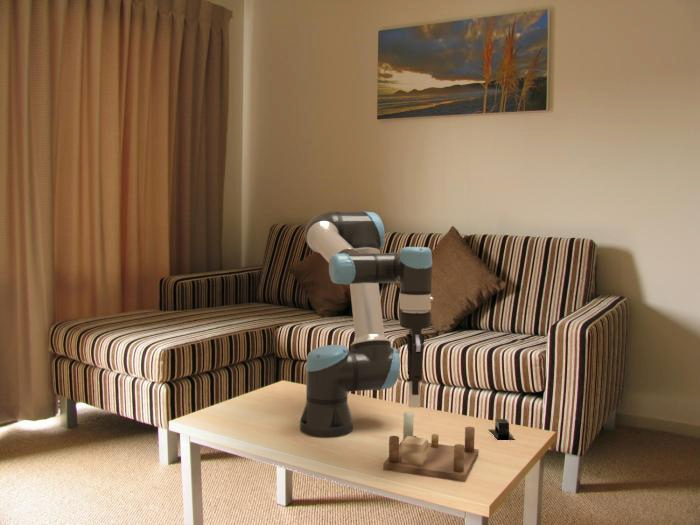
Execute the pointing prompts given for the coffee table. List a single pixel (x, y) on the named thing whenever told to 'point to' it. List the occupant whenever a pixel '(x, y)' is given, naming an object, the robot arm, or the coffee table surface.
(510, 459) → the coffee table surface
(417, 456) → the maple block
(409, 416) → the gate leg
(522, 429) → the coffee table surface
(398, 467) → the stool board
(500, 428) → the black bracket plate
